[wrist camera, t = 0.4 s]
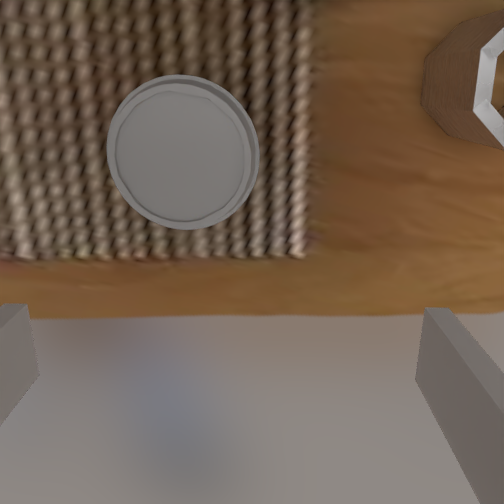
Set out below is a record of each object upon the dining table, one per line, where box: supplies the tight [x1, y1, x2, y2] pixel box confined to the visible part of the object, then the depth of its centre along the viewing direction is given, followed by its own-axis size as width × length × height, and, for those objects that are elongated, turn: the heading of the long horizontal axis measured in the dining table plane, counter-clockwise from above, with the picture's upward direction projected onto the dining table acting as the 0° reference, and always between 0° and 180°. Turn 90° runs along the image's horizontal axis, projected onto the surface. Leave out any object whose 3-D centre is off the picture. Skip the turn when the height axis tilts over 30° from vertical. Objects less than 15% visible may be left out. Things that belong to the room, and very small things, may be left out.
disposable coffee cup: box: [107, 74, 260, 230], centre depth 34 cm, size 10×10×12 cm
